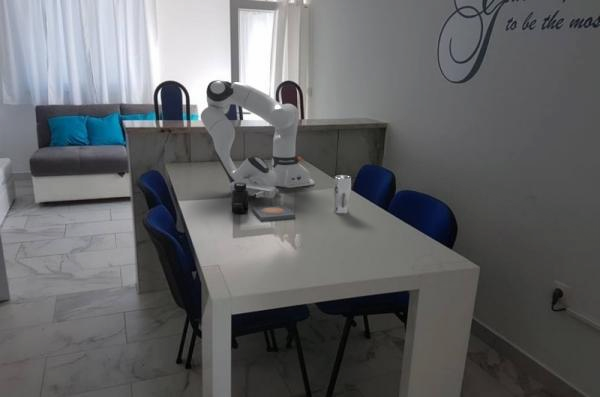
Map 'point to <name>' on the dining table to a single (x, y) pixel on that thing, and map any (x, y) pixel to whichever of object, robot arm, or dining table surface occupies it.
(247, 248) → the dining table surface
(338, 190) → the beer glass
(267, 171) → the robot arm
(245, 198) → the supplement bottle
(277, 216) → the mat
